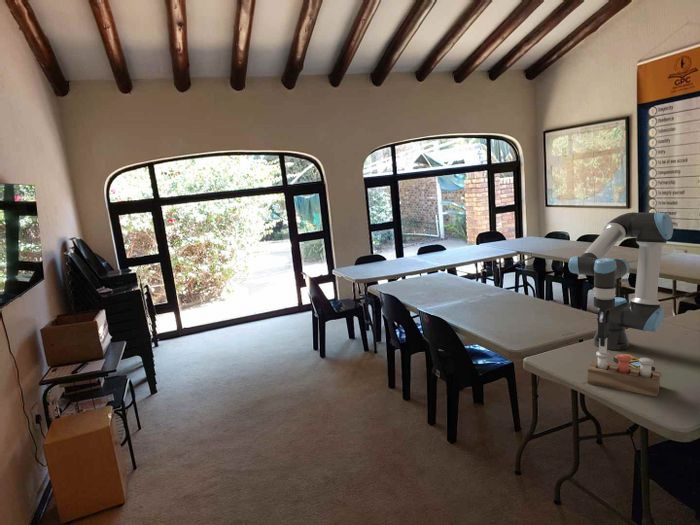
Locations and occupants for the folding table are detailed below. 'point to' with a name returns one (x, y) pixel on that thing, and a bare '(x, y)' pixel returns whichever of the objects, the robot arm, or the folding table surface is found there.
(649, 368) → the grey plug
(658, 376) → the socket block
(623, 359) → the red plug
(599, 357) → the grey plug
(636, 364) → the electronic device
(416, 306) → the folding table surface
